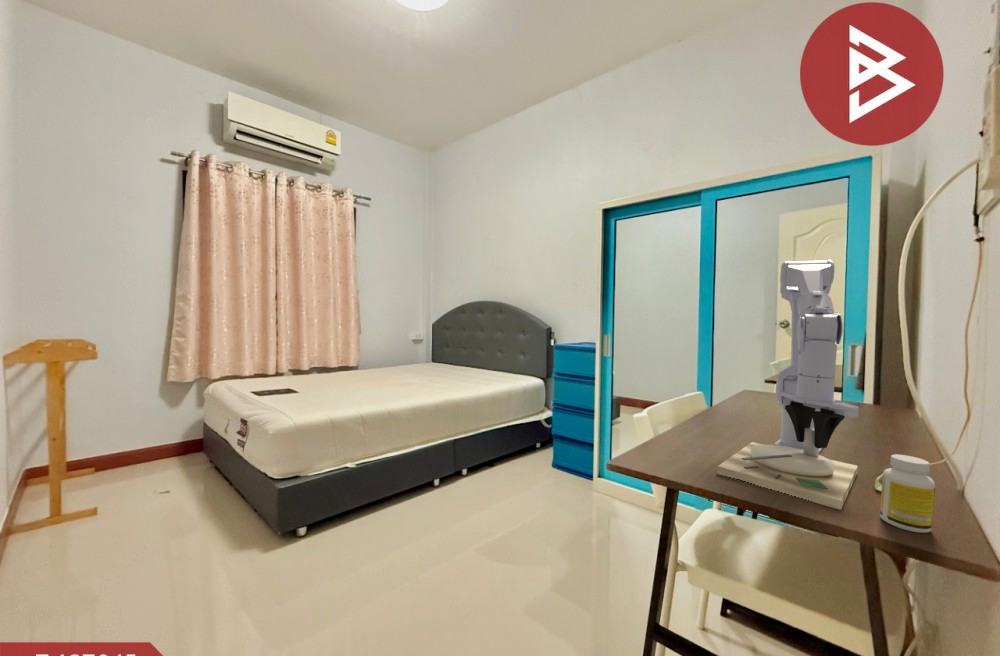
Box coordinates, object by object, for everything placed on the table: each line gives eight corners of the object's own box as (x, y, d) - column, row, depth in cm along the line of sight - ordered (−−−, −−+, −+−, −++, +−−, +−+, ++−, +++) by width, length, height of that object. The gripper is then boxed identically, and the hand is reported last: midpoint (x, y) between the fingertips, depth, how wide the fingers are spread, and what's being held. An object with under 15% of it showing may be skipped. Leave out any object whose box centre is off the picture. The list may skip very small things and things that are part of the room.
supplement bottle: (942, 536, 56) (948, 467, 55) (897, 531, 57) (902, 463, 57) (911, 517, 61) (916, 454, 61) (870, 512, 62) (874, 450, 62)
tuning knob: (773, 480, 69) (775, 444, 68) (716, 453, 81) (718, 423, 81) (852, 473, 73) (854, 439, 72) (786, 448, 85) (787, 420, 85)
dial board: (751, 448, 91) (752, 441, 91) (857, 473, 78) (857, 464, 78) (717, 473, 76) (717, 465, 76) (841, 510, 63) (841, 499, 63)
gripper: (766, 370, 84) (762, 433, 85) (839, 383, 70) (834, 459, 71) (793, 369, 86) (789, 432, 86) (869, 382, 72) (864, 456, 72)
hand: (811, 444), depth 79 cm, fingers open, 3 cm apart
